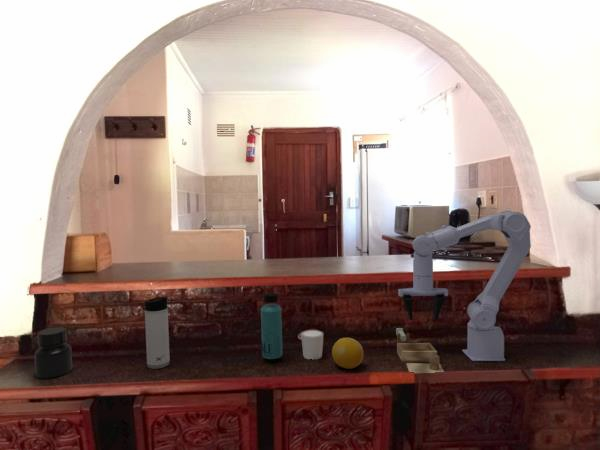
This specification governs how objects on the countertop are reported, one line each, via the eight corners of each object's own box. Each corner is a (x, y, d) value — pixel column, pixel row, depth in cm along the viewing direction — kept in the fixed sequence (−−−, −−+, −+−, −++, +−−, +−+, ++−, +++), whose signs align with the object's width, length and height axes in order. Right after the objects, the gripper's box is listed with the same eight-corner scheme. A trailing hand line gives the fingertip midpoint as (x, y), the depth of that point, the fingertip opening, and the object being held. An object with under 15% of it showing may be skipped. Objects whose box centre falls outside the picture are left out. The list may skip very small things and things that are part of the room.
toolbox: (429, 351, 123) (429, 333, 122) (437, 361, 115) (437, 342, 114) (396, 351, 123) (396, 333, 122) (402, 362, 115) (402, 342, 115)
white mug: (324, 360, 117) (324, 337, 117) (301, 360, 118) (300, 337, 117) (323, 351, 124) (323, 329, 124) (301, 351, 124) (301, 329, 124)
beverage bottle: (284, 355, 121) (283, 291, 120) (281, 364, 115) (280, 296, 113) (263, 355, 122) (262, 291, 121) (259, 364, 115) (257, 296, 114)
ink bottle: (77, 364, 118) (75, 324, 117) (69, 376, 109) (66, 334, 109) (40, 368, 115) (38, 327, 115) (28, 381, 107) (26, 337, 106)
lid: (439, 366, 113) (439, 351, 113) (445, 375, 107) (445, 360, 107) (406, 365, 114) (406, 351, 114) (409, 374, 108) (409, 359, 108)
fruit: (365, 362, 115) (364, 335, 115) (361, 374, 108) (361, 345, 107) (335, 359, 118) (334, 333, 117) (329, 371, 110) (329, 342, 109)
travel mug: (163, 369, 113) (160, 300, 111) (142, 368, 114) (139, 299, 113) (174, 361, 119) (172, 295, 118) (154, 359, 120) (152, 294, 119)
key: (402, 334, 128) (402, 328, 128) (407, 341, 122) (407, 335, 121) (396, 334, 128) (396, 328, 128) (400, 341, 122) (400, 335, 122)
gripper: (442, 272, 125) (442, 314, 125) (396, 273, 125) (396, 315, 126) (450, 276, 118) (450, 321, 118) (401, 277, 118) (401, 322, 119)
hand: (422, 319), depth 122 cm, fingers open, 7 cm apart
